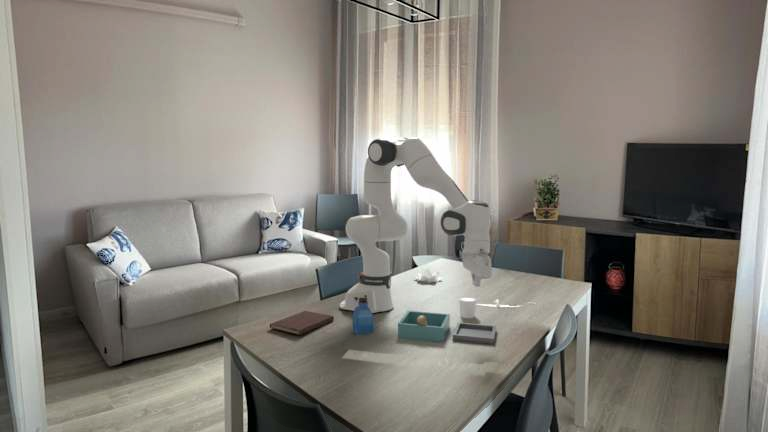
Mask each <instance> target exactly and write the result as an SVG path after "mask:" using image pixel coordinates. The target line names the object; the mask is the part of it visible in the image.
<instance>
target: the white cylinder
mask: <svg viewBox="0 0 768 432" xmlns="http://www.w3.org/2000/svg"><path fill="white" fill-rule="evenodd" d="M477 300H478V299H476V298H475V297H472V296H471V297H470V296H463V297H459V298H458V301H459V315H460V317H461V318H464V319H474V318H475V317H476V316H475V315H476V308H477V305H476V304H477Z"/></svg>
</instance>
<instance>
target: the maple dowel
mask: <svg viewBox="0 0 768 432" xmlns="http://www.w3.org/2000/svg"><path fill="white" fill-rule="evenodd" d="M417 322H418V325H427V326H428V324H427V320H426V317H425V316H422V315H421V316H419V317H418V318H417Z"/></svg>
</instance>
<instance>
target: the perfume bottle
mask: <svg viewBox="0 0 768 432" xmlns="http://www.w3.org/2000/svg"><path fill="white" fill-rule="evenodd" d="M358 305H359V306H357V307H356V308H355V310H354V311H352V329H353V330H354V333H355V335H361V334H362V335H363V334H373V333H374V315H373V314H374V313H371V311H370V309H369V307H368V306H367V305H368V302H367V298H359V302H358Z"/></svg>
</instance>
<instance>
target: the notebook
mask: <svg viewBox="0 0 768 432" xmlns="http://www.w3.org/2000/svg"><path fill="white" fill-rule="evenodd" d="M334 319H335V318H334V315H331V314H325V313H324V314H323V313H317V312H314V311H309V310H303V311H301V312H298V313H295V314H293V315H289V316H287V317H284V318H282V319H279V320H276V321H274V322H272V323H270V324H269V328H270V329H274V330H277V331H281V332H285V333H288V334H289V333H290V334H293V335H298V336H301V335H303V334H305V333H308V332H309V331H312V330H315V329H317V328H319V327H321V326H324V325H326V324H328V323H330V322H333V321H334Z"/></svg>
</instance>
